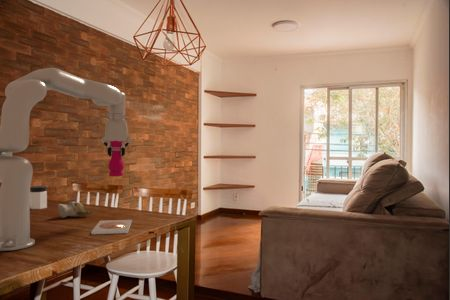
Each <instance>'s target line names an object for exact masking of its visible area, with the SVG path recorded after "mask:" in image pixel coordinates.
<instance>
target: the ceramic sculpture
mask: <svg viewBox="0 0 450 300" xmlns="http://www.w3.org/2000/svg"><path fill="white" fill-rule="evenodd" d="M57 208H58V212H59V215H60V218H63V219H65V218H67V217H71V218H77V217H84V216H85V217H86V216H88V215H91V214H92V213H93V212H92V211H88V208H84V205H83V203H81V202H79V201H75V199H72V200H70V201H69V202H68V203H66V204H62V203H58V204H57Z"/></svg>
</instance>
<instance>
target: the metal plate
mask: <svg viewBox="0 0 450 300" xmlns="http://www.w3.org/2000/svg"><path fill="white" fill-rule="evenodd" d="M132 223H133V220H132V219H116V220H115V219H114V220H111V219H109V220H108V219H107V220H99V221H98V223H96V225H95V226H94V228H93V229H92V230H91V232H90V233H91V236H93V235H117V234H128V233H129V232H130V231H129V230H130V227H131V225H132Z"/></svg>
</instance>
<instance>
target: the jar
mask: <svg viewBox="0 0 450 300" xmlns="http://www.w3.org/2000/svg"><path fill="white" fill-rule="evenodd" d="M47 208H48V191H47V186H46V185H33V186H30V210H43V209H47Z"/></svg>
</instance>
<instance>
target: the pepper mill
mask: <svg viewBox="0 0 450 300" xmlns="http://www.w3.org/2000/svg"><path fill="white" fill-rule="evenodd" d="M110 145H111V150H112V152H111V156H110V160H109V162H108V166H107V167H108V170H109V172H108V173H109V174H108V175H109V177H123V176H124V171H123V170H124V169H125V164H124V161H123V158H122V156H121V152H122V147H123V146H122V142H119V141H116V140H115V141H112V142H110Z"/></svg>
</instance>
